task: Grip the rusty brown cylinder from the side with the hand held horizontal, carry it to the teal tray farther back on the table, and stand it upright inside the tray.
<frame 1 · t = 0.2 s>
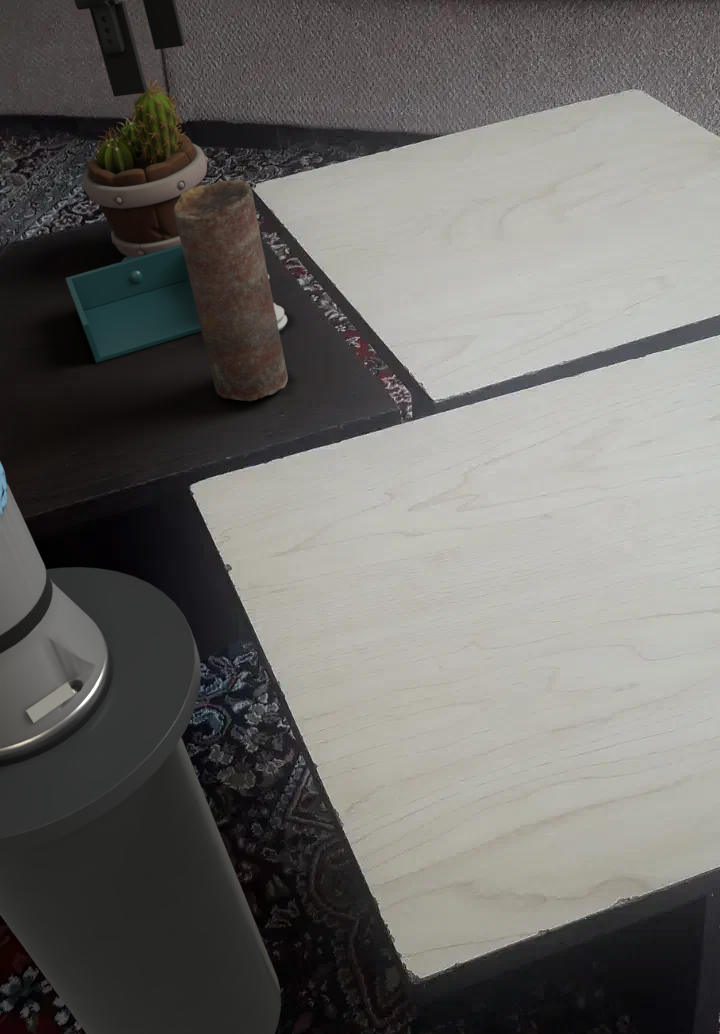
hand: (151, 69, 92), 28 cm above the table, tool pointing down, fingers open, 13 cm apart
flowerpot: (166, 249, 133), on the table
chess piece: (266, 327, 116), on the table
teal tray: (152, 319, 120), on the table
rusty brown cylinder: (253, 392, 106), on the table
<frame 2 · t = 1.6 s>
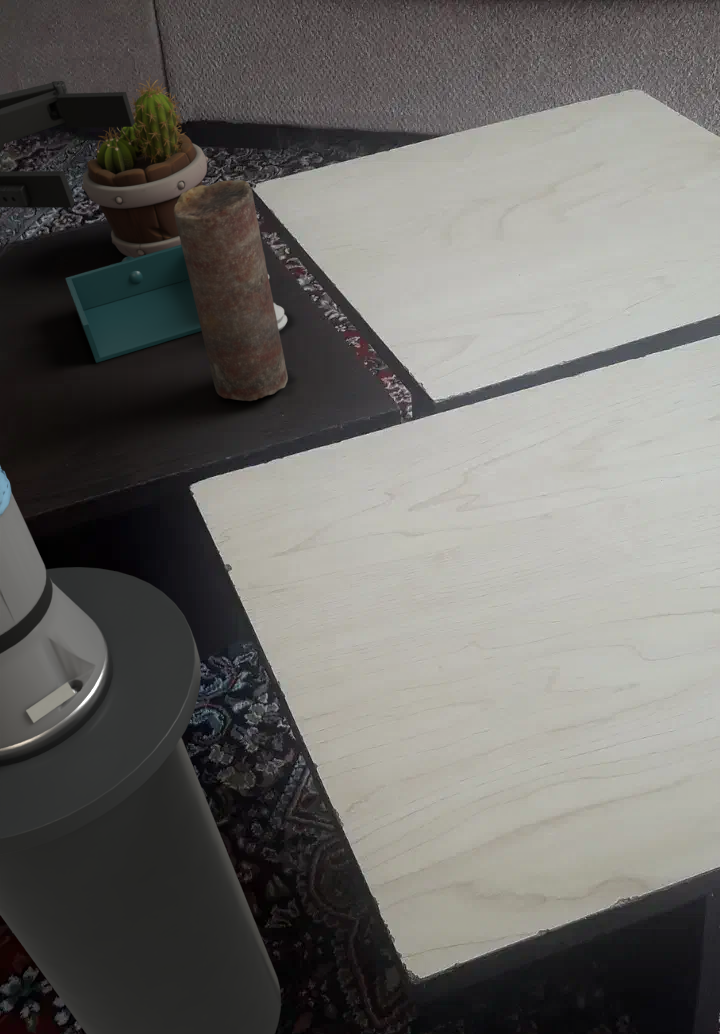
hand: (100, 147, 90), 25 cm above the table, tool horizontal, fingers open, 13 cm apart
nothing on the table moved.
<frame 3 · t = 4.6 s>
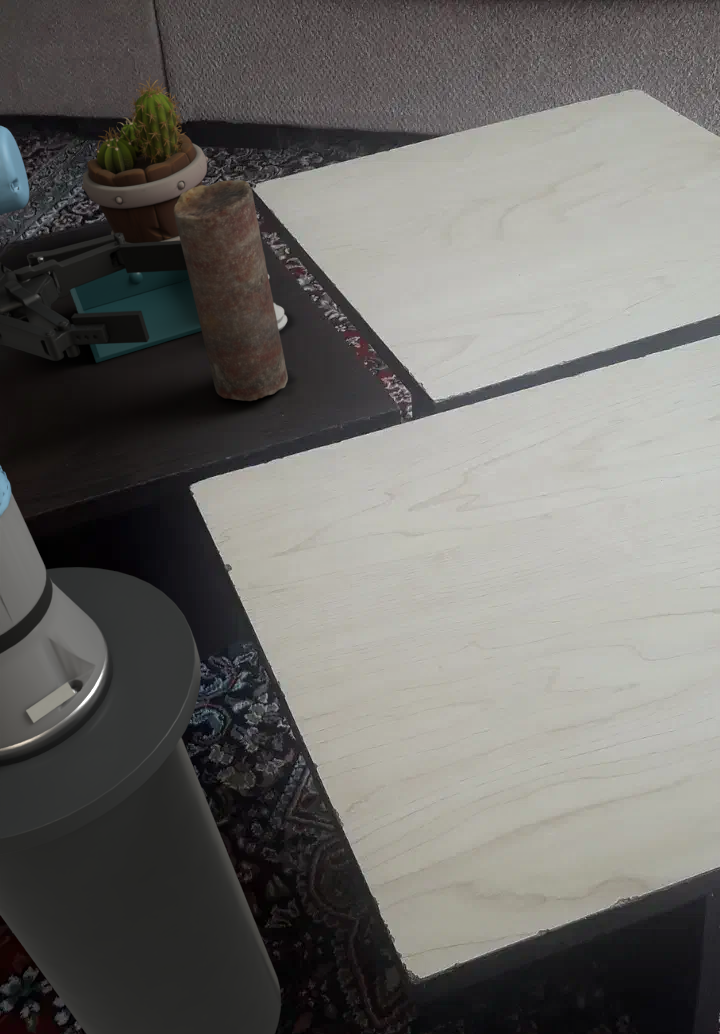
hand: (166, 289, 100), 11 cm above the table, tool horizontal, fingers open, 13 cm apart
nothing on the table moved.
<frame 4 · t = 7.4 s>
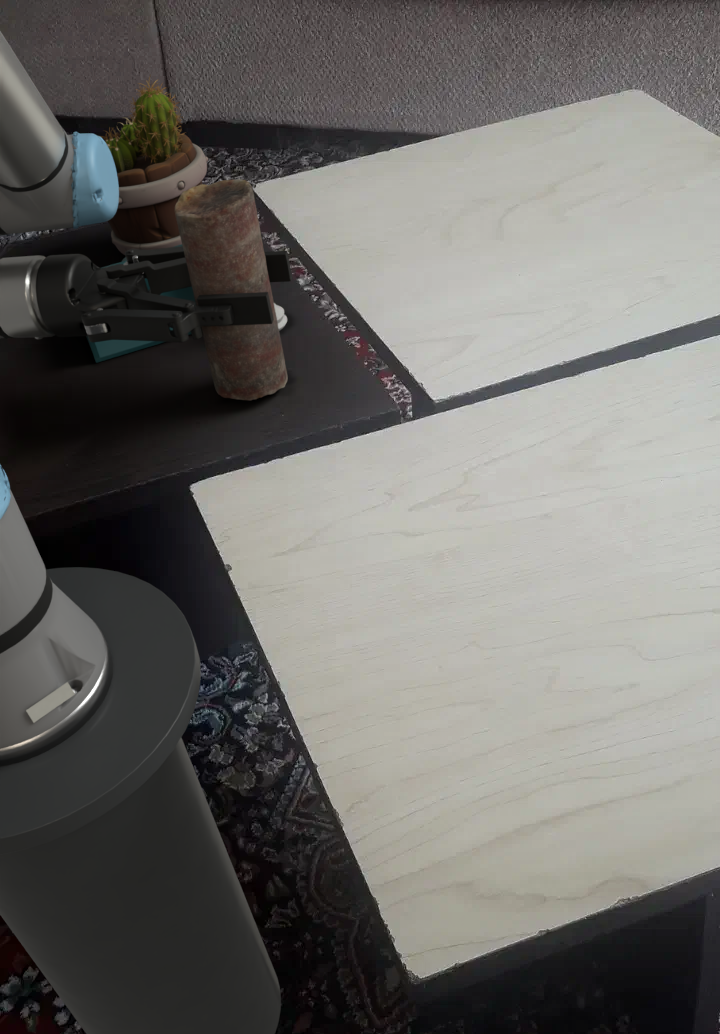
hand: (279, 286, 97), 11 cm above the table, tool horizontal, fingers closed on rusty brown cylinder, 7 cm apart
rusty brown cylinder: (253, 392, 106), on the table, touching gripper
everything else where it was.
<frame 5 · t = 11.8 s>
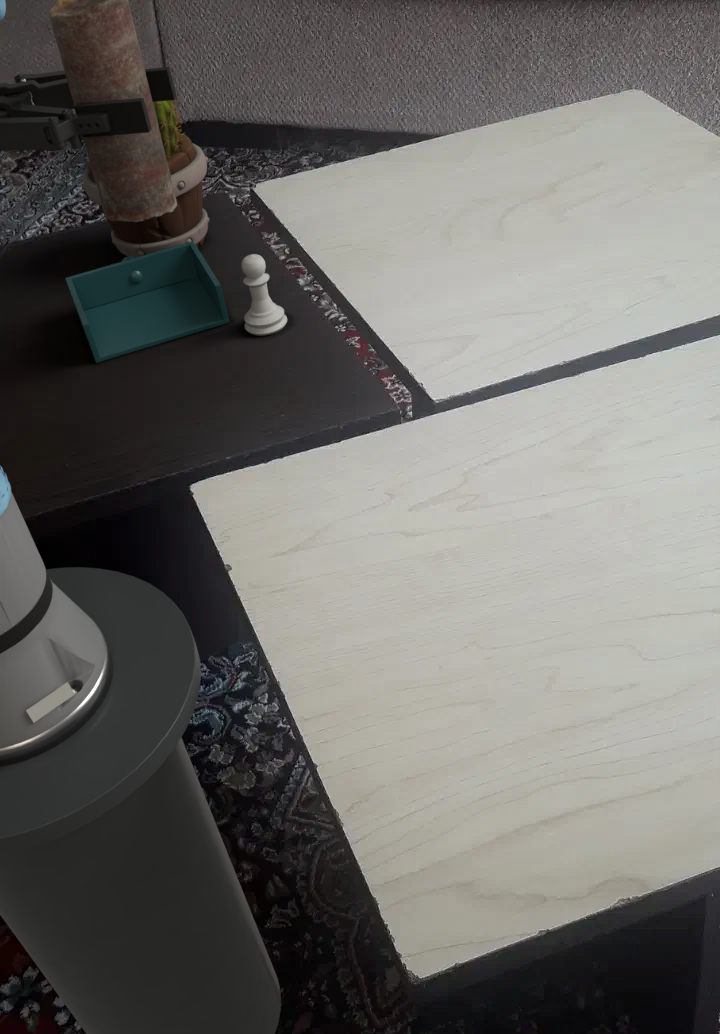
hand: (159, 99, 98), 24 cm above the table, tool horizontal, fingers closed on rusty brown cylinder, 7 cm apart
rusty brown cylinder: (143, 219, 107), point 13 cm above the table, touching gripper
everything else where it was.
when the fingers open (11 cm above the table, at t = 16.4 s): rusty brown cylinder stays where it is, resting on teal tray.
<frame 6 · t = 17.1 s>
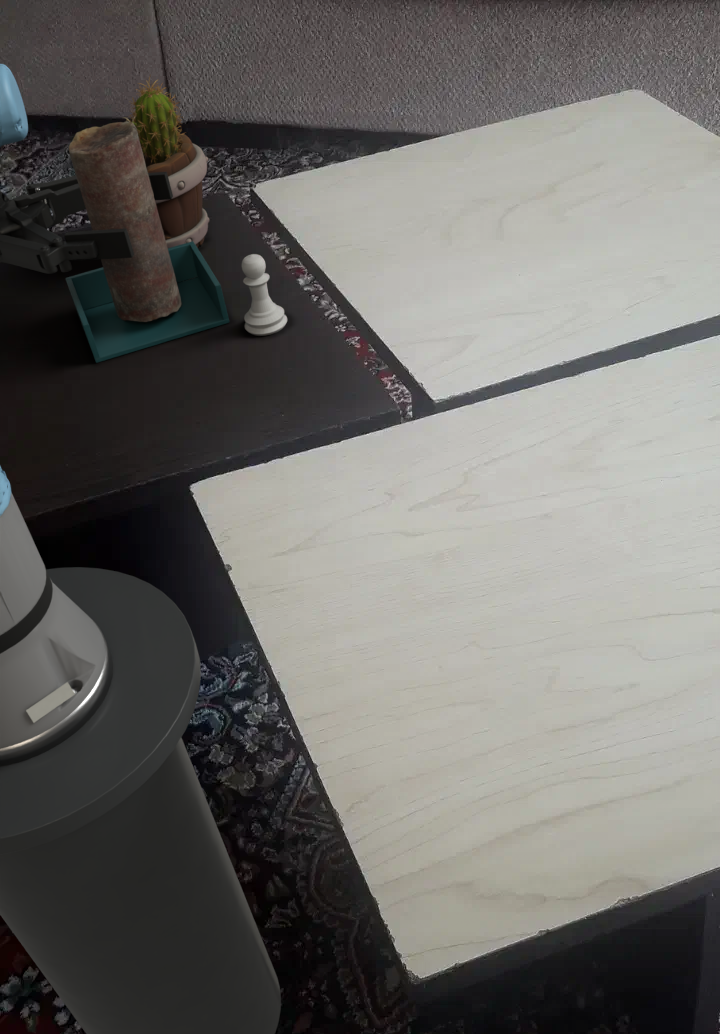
hand: (150, 213, 111), 12 cm above the table, tool horizontal, fingers open, 13 cm apart
rusty brown cylinder: (151, 316, 120), resting on teal tray
everything else where it was.
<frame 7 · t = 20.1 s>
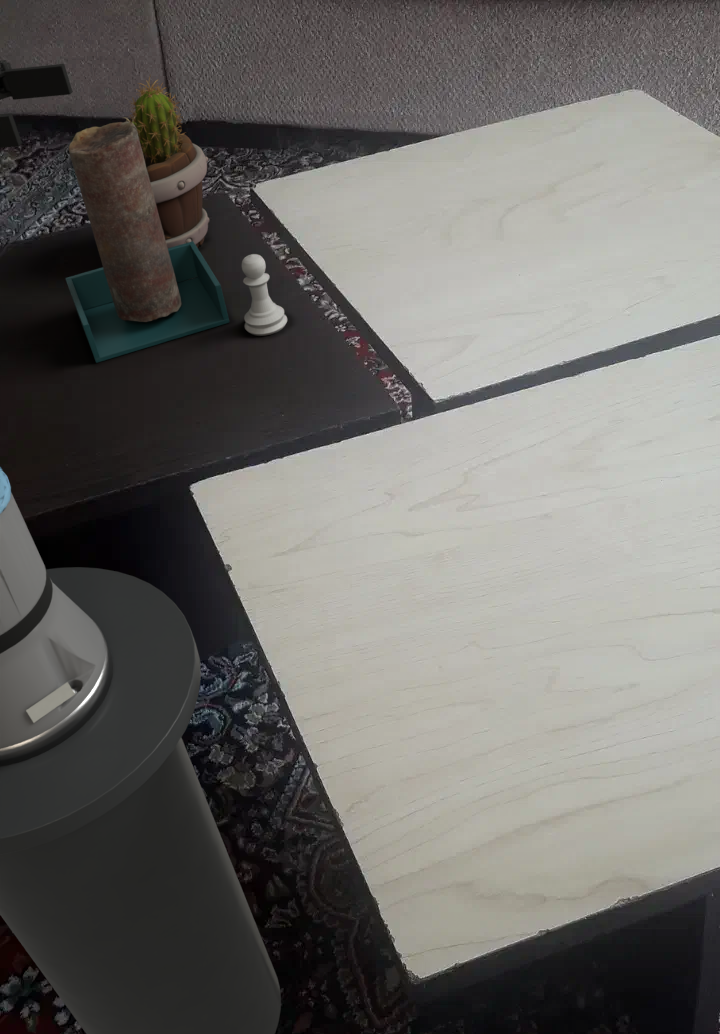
hand: (42, 103, 104), 24 cm above the table, tool horizontal, fingers open, 13 cm apart
nothing on the table moved.
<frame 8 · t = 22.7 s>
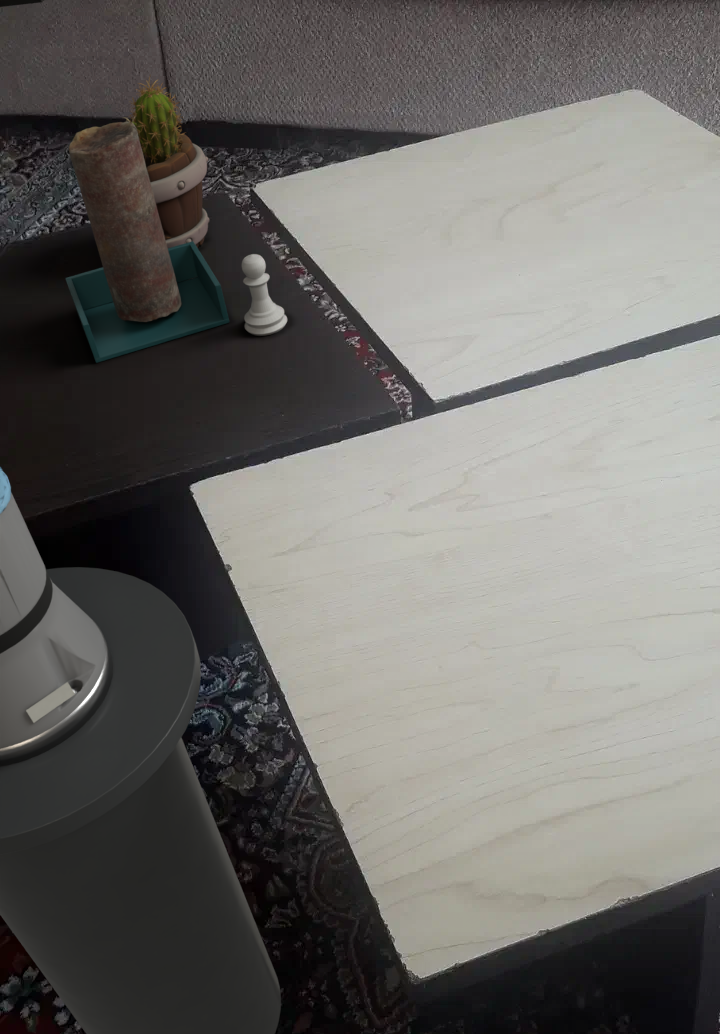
hand: (11, 7, 98), 32 cm above the table, tool horizontal, fingers open, 13 cm apart
nothing on the table moved.
at the end: rusty brown cylinder inside the target area in the teal tray (0.0 cm from its centre), point 0.3 cm above the teal tray's base; rusty brown cylinder tilted 0°; the gripper is holding nothing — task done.
